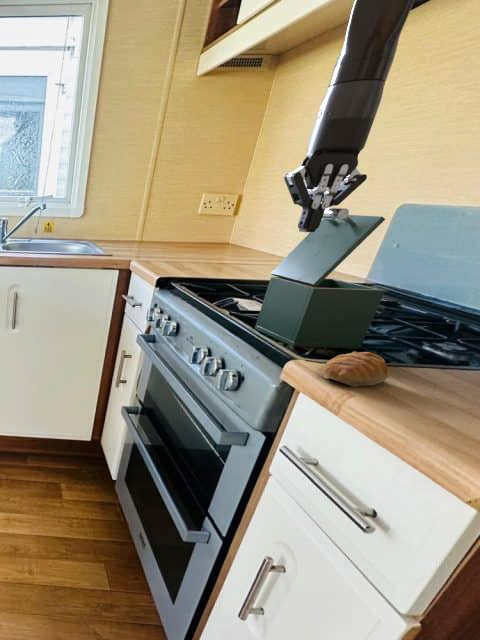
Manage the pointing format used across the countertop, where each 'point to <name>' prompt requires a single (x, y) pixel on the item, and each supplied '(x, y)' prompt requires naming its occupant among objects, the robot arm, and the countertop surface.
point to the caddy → (318, 313)
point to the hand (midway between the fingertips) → (306, 231)
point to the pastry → (357, 369)
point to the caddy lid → (326, 246)
